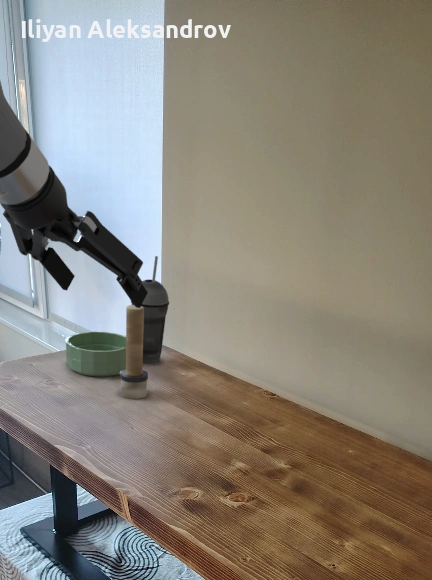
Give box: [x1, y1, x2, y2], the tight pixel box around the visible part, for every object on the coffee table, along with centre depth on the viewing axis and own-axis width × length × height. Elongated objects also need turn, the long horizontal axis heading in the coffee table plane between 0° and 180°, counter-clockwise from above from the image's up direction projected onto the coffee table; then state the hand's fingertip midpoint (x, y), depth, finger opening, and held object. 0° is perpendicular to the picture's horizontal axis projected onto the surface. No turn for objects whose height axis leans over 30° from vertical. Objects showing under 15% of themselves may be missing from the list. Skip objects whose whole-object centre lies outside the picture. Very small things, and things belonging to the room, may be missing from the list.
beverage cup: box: [130, 255, 170, 365], centre depth 119 cm, size 7×7×20 cm
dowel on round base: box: [119, 304, 149, 400], centre depth 105 cm, size 5×5×15 cm
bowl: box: [65, 331, 126, 377], centre depth 117 cm, size 12×12×5 cm
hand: (104, 291), depth 93 cm, fingers open, 13 cm apart
